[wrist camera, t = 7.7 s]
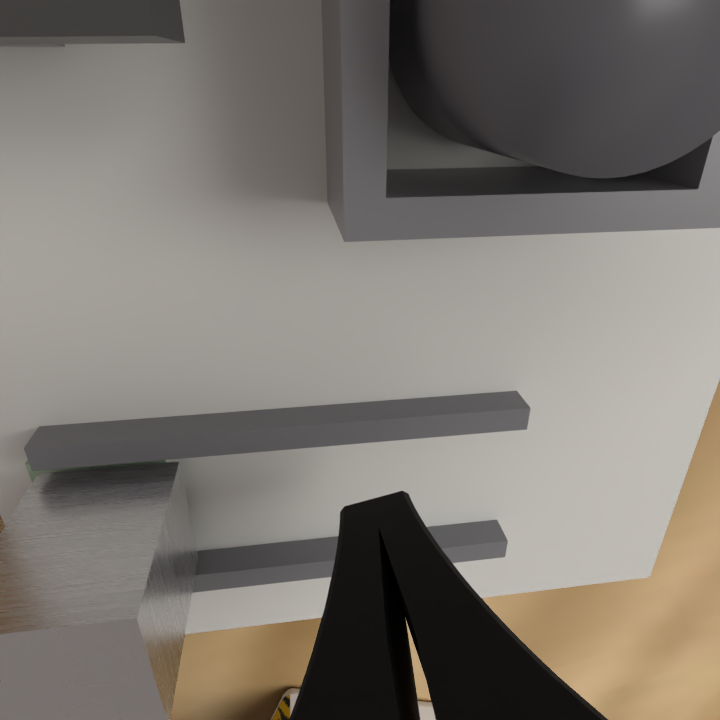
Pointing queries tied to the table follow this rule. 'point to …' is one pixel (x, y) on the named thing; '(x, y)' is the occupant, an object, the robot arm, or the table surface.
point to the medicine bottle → (289, 697)
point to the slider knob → (96, 594)
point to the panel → (341, 310)
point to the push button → (563, 78)
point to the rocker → (90, 21)
